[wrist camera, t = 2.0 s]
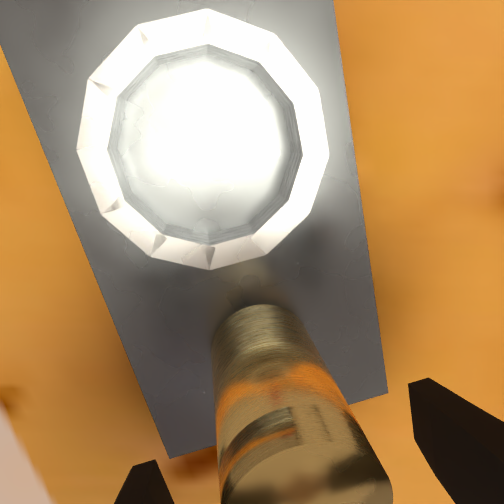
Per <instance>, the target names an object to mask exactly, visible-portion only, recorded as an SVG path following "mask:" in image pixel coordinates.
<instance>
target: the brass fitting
mask: <svg viewBox="0 0 504 504" xmlns="http://www.w3.org/2000/svg"><path fill="white" fill-rule="evenodd" d="M211 363H212V378H213V394H214V409H215V424H216V439H217V455H218V470H219V485H220V500H221V504H393V491H392V486H391V483H390V480H389V477H388V476H387V474H386V472H385V470H384V468H383V467H382V465H381V463H380V461H379V459H378V458H377V456H376V454H375V452H374V451H373V449H372V447H371V445H370V443H369V442H368V440H367V438H366V436H365V434H364V433H363V431H362V429H361V427H360V425H359V424H358V422H357V420H356V418H355V416H354V415H353V413H352V411H351V409H350V407H349V406H348V404H347V402H346V400H345V398H344V397H343V395H342V393H341V391H340V389H339V388H338V386H337V384H336V382H335V380H334V379H333V377H332V375H331V373H330V371H329V370H328V368H327V366H326V364H325V363H324V361H323V359H322V357H321V355H320V354H319V352H318V350H317V348H316V346H315V345H314V343H313V341H312V339H311V337H310V336H309V334H308V332H307V330H306V328H305V327H304V325H303V323H302V322H301V321H300V319H299V318H298V317H297V316H296V315H295V314H293V313H292V312H290V311H289V310H287V309H285V308H282V307H279V306H275V305H268V304H260V305H253V306H249V307H246V308H243V309H241V310H239V311H237V312H235V313H233V314H232V315H231V316H229V317H228V318H227V319H226V320H225V321H224V322H223V323H222V324H221V325H220V327H219V328H218V330H217V331H216V333H215V335H214V338H213V341H212V345H211Z"/></svg>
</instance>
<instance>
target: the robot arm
mask: <svg viewBox="0 0 504 504" xmlns="http://www.w3.org/2000/svg"><path fill="white" fill-rule="evenodd" d="M408 388H409V397H410V406H411V414H412V423H413V432H414V439H415V441H416V443H417V445H418V446H419V448H420V450H421V452H422V454H423V455H424V457H425V459H426V461H427V462H428V464H429V466H430V467H431V469H432V471H433V472H434V474H435V476H436V477H437V479H438V480H439V481H440V483H441V484H442V486H443V487H444V488H445V490H446V491H447V492H448V494H449V495H450V497H451V498H452V499H453V501H454V502H455V504H504V422H503V421H501V420H499V419H497V418H496V417H494V416H492V415H490V414H489V413H487V412H485V411H484V410H482V409H480V408H478V407H477V406H475V405H473V404H472V403H470V402H468V401H467V400H465V399H463V398H462V397H460V396H458V395H457V394H455V393H453V392H452V391H450V390H448V389H447V388H445V387H443V386H442V385H440V384H438V383H437V382H435V381H433V380H432V379H430V378H426V379H422V380H419V381H416V382H412V383H409V384H408ZM114 504H174V502H173V499H172V497H171V495H170V492H169V490H168V488H167V485H166V483H165V481H164V478H163V476H162V474H161V471H160V469H159V467H158V464H157V462H156V460H151V461H148V462H145V463H141V464H138V465H135V466H133V467H132V469H131V470H130V472H129V474H128V476H127V478H126V480H125V482H124V484H123V486H122V488H121V490H120V492H119V494H118V496H117V498H116V501H115V503H114Z"/></svg>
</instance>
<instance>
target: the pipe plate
mask: <svg viewBox="0 0 504 504" xmlns="http://www.w3.org/2000/svg"><path fill="white" fill-rule="evenodd" d="M0 45H1V47H2V50H3V52H4V55H5V57H6V60H7V62H8V65H9V67H10V69H11V72H12V74H13V77H14V79H15V82H16V84H17V87H18V89H19V91H20V94H21V96H22V99H23V101H24V104H25V106H26V109H27V111H28V114H29V116H30V118H31V121H32V123H33V126H34V128H35V131H36V133H37V136H38V138H39V140H40V143H41V145H42V148H43V150H44V153H45V155H46V158H47V160H48V162H49V165H50V167H51V170H52V172H53V175H54V177H55V180H56V182H57V185H58V187H59V189H60V192H61V194H62V197H63V199H64V202H65V204H66V207H67V209H68V211H69V214H70V216H71V219H72V221H73V224H74V226H75V229H76V231H77V233H78V236H79V238H80V241H81V243H82V246H83V248H84V251H85V253H86V255H87V258H88V260H89V263H90V265H91V268H92V270H93V273H94V275H95V278H96V280H97V282H98V285H99V287H100V290H101V292H102V295H103V297H104V300H105V302H106V304H107V307H108V309H109V312H110V314H111V317H112V319H113V322H114V324H115V326H116V329H117V331H118V334H119V336H120V339H121V341H122V344H123V346H124V349H125V351H126V353H127V356H128V358H129V361H130V363H131V366H132V368H133V371H134V373H135V375H136V378H137V380H138V383H139V385H140V388H141V390H142V393H143V395H144V397H145V400H146V402H147V405H148V407H149V410H150V412H151V415H152V417H153V420H154V422H155V424H156V427H157V429H158V432H159V434H160V437H161V439H162V442H163V444H164V446H165V449H166V451H167V454H168V456H169V459H171V458H174V457H178V456H181V455H184V454H187V453H191V452H194V451H197V450H201V449H204V448H207V447H211V446H214V445H217V439H216V424H215V409H214V394H213V378H212V363H211V345H212V341H213V338H214V335H215V333H216V331H217V330H218V328H219V327H220V325H221V324H222V323H223V322H224V321H225V320H226V319H227V318H228V317H229V316H231V315H232V314H233V313H235V312H237V311H239V310H241V309H243V308H246V307H249V306H253V305H260V304H268V305H275V306H279V307H282V308H285V309H287V310H289V311H290V312H292V313H293V314H295V315H296V316H297V317H298V318H299V319H300V321H301V322H302V323H303V325H304V327H305V328H306V330H307V332H308V334H309V336H310V337H311V339H312V341H313V343H314V345H315V346H316V348H317V350H318V352H319V354H320V355H321V357H322V359H323V361H324V363H325V364H326V366H327V368H328V370H329V371H330V373H331V375H332V377H333V379H334V380H335V382H336V384H337V386H338V388H339V389H340V391H341V393H342V395H343V397H344V398H345V400H346V402H347V404H348V405H350V404H353V403H356V402H360V401H363V400H366V399H370V398H373V397H376V396H380V395H383V394H386V393H388V387H387V380H386V373H385V366H384V359H383V351H382V344H381V337H380V330H379V323H378V316H377V309H376V302H375V295H374V288H373V280H372V273H371V266H370V259H369V252H368V245H367V238H366V231H365V224H364V216H363V209H362V202H361V195H360V188H359V181H358V174H357V167H356V160H355V152H354V145H353V138H352V131H351V124H350V117H349V110H348V103H347V96H346V89H345V81H344V74H343V67H342V60H341V53H340V46H339V39H338V32H337V25H336V17H335V10H334V3H333V0H0Z"/></svg>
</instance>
